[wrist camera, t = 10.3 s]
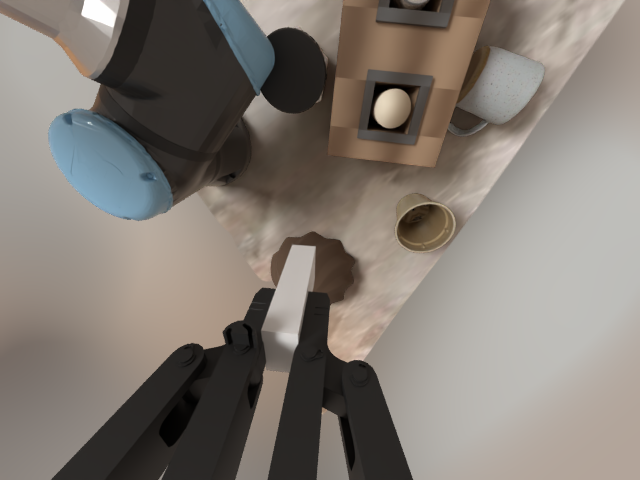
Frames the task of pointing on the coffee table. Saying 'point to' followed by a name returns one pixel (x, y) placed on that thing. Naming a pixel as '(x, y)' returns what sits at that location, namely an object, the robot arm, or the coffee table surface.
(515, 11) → the coffee table surface
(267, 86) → the jar
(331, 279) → the decorative dome
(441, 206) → the flower pot
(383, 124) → the peg ash
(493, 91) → the ceramic mug
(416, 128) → the walnut block
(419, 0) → the peg steel
